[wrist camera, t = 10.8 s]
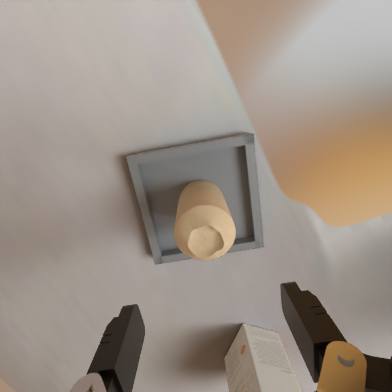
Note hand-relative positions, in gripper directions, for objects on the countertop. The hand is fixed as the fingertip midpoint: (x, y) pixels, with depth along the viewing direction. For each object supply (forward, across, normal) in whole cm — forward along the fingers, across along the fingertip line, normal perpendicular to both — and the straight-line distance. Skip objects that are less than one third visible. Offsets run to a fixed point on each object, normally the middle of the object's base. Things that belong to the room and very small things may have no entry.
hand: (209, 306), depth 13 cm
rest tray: (+17, 0, 0) cm, 17 cm away
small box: (+18, -4, +26) cm, 32 cm away
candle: (+17, 0, 0) cm, 17 cm away
